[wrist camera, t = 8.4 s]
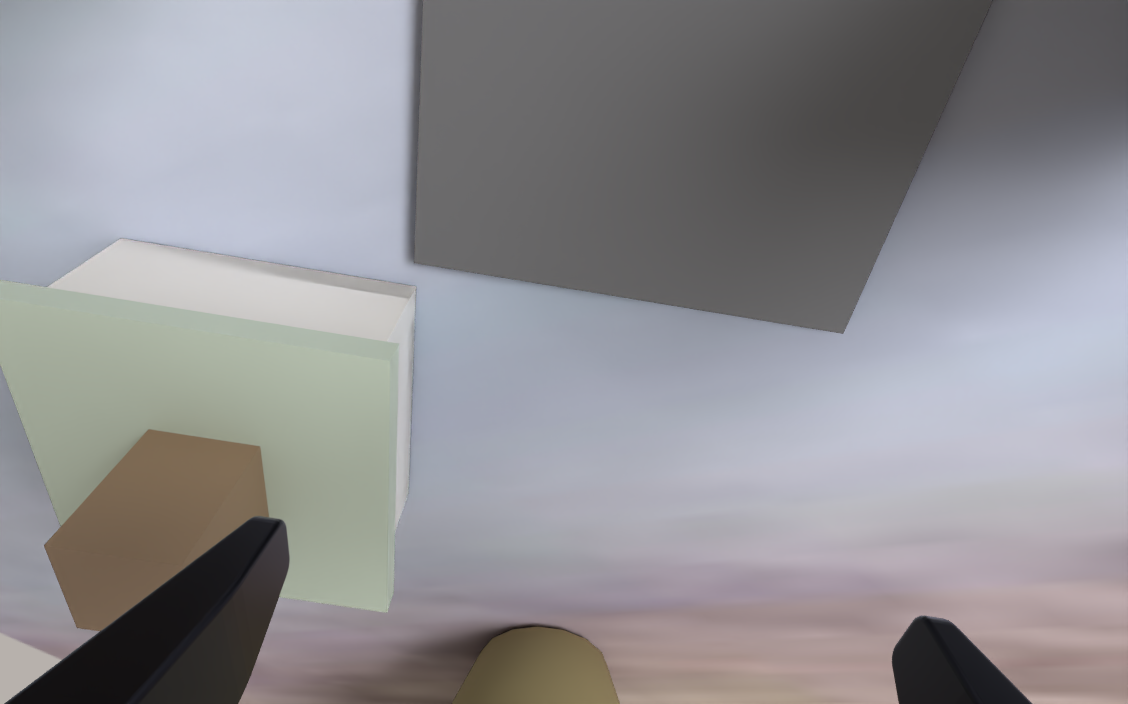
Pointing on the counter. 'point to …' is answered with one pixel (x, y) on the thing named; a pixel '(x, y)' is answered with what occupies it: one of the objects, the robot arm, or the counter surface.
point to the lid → (202, 444)
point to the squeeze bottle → (538, 671)
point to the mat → (680, 143)
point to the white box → (264, 304)
